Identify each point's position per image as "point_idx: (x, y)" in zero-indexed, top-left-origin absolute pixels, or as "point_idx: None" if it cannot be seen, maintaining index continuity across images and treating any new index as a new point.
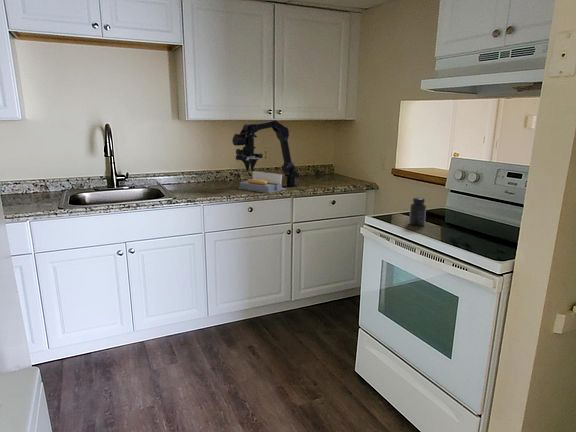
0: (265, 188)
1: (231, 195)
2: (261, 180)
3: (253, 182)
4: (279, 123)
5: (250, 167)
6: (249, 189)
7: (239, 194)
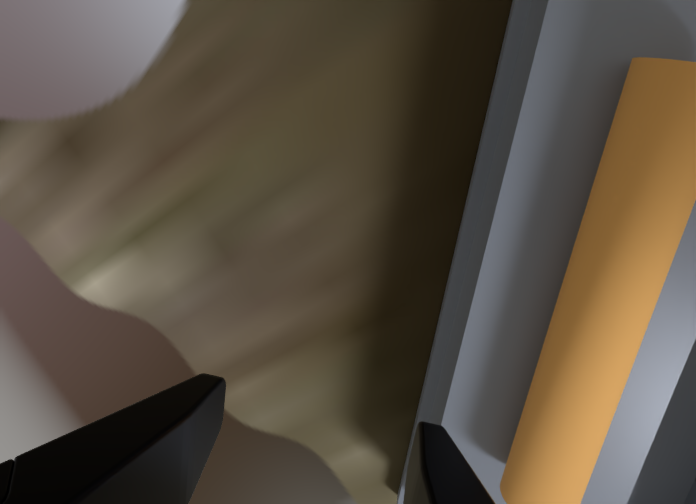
0: None
1: (5, 155)
2: (570, 438)
3: (579, 229)
4: None
5: (423, 477)
6: (477, 161)
7: (121, 211)
